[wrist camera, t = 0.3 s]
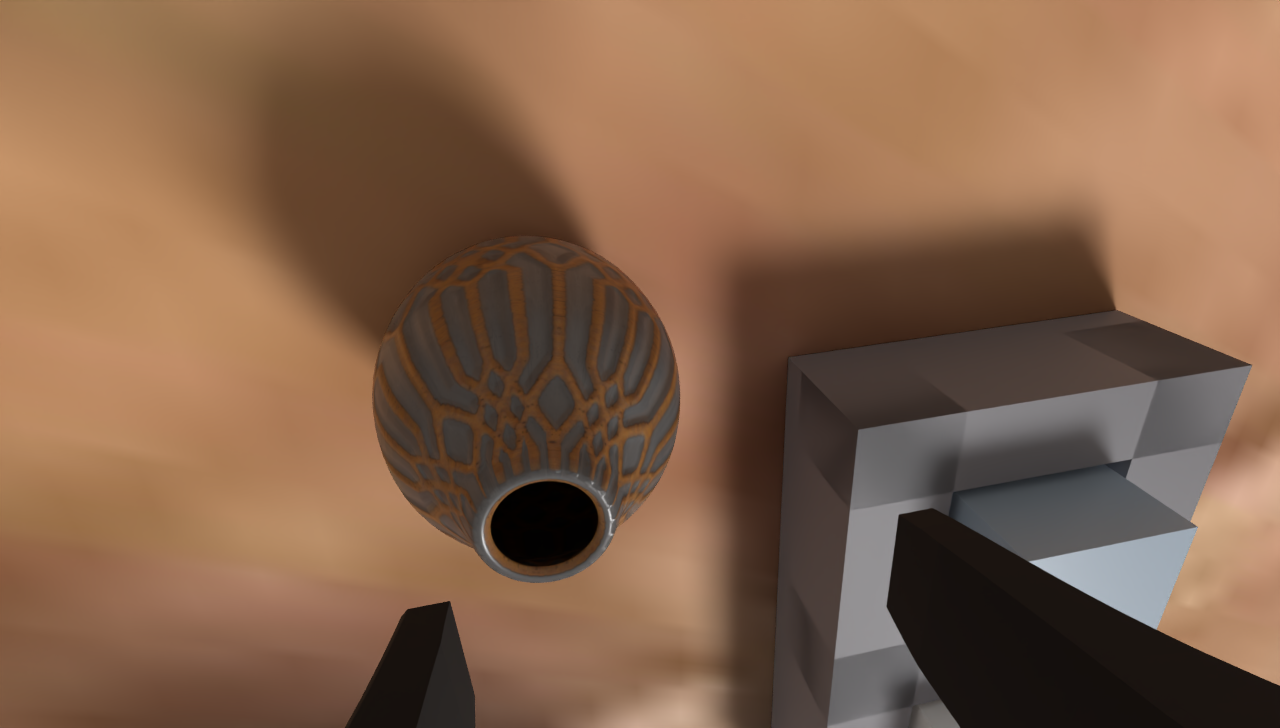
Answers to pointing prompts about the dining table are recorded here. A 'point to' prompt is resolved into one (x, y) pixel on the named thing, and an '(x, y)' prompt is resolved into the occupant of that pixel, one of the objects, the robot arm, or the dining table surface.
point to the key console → (959, 472)
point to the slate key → (1087, 534)
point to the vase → (527, 402)
